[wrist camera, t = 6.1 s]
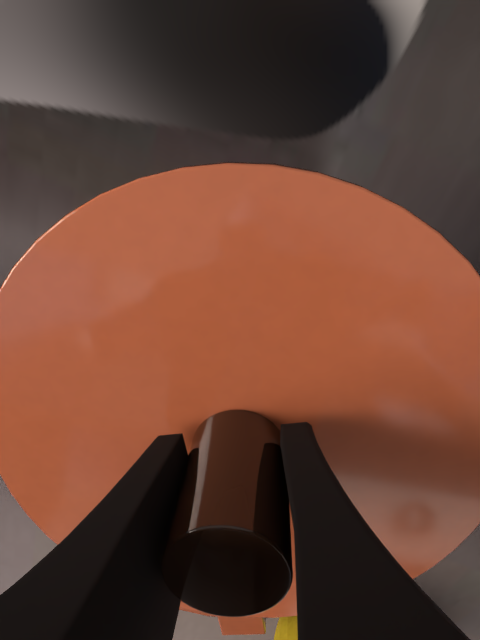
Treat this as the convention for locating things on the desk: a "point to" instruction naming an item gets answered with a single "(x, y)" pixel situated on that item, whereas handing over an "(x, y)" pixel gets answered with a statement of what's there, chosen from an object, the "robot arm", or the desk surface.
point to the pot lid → (245, 369)
